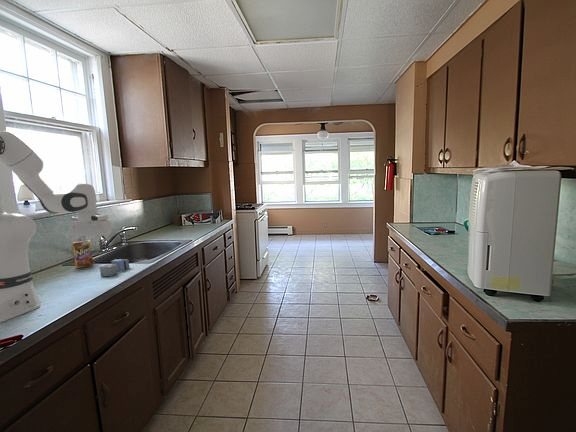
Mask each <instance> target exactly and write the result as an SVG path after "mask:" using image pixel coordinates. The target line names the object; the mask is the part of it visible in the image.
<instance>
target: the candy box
mask: <svg viewBox="0 0 576 432" xmlns="http://www.w3.org/2000/svg"><path fill="white" fill-rule="evenodd" d="M86 240H87V239H86ZM87 241H88V243H89V244H87V245H84V244H83V241H82V240H80V241H73V242H72V247H73V248H72V249H73V257H74V264H75V265H74V266H75V269H76V270H77V269H82V268H88V267H94V258H93V250H92V242H91V239H88V240H87Z"/></svg>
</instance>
